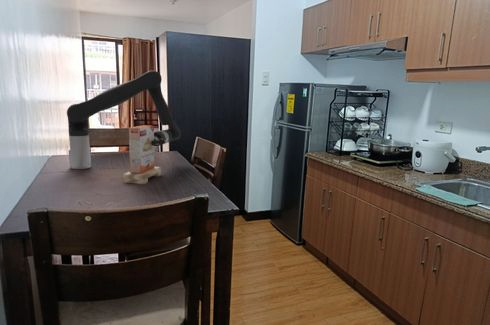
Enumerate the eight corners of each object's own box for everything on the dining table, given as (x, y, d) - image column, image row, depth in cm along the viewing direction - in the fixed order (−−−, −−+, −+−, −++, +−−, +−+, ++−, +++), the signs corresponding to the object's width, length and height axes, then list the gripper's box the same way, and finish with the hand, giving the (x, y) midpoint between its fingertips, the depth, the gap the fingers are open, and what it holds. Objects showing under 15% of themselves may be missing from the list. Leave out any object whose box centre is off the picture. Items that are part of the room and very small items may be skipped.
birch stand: (123, 182, 147) (123, 174, 146) (142, 173, 164) (142, 165, 163) (144, 184, 145) (143, 175, 144) (161, 174, 163) (161, 167, 162)
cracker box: (141, 174, 147) (140, 128, 143) (129, 173, 148) (127, 127, 144) (155, 167, 161) (154, 125, 156) (144, 166, 162) (142, 124, 157)
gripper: (145, 130, 169) (129, 134, 153) (171, 131, 167) (157, 135, 151) (146, 144, 171) (130, 149, 155) (171, 146, 168) (158, 151, 152)
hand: (144, 142), depth 153 cm, fingers open, 8 cm apart
